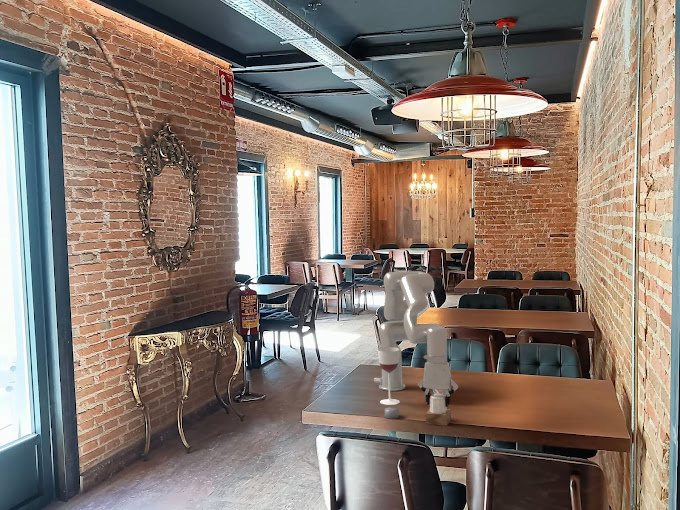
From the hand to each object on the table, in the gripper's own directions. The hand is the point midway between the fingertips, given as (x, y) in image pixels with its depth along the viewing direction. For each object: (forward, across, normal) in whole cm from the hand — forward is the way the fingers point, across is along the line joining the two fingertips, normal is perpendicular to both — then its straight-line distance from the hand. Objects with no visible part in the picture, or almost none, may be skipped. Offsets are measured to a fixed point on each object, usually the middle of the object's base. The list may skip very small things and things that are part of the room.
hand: (438, 404), depth 222 cm
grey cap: (+7, -19, 0) cm, 20 cm away
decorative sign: (+7, -7, +34) cm, 35 cm away
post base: (+7, 0, 0) cm, 7 cm away
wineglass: (+7, -26, +19) cm, 33 cm away
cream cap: (+3, 0, 0) cm, 3 cm away
